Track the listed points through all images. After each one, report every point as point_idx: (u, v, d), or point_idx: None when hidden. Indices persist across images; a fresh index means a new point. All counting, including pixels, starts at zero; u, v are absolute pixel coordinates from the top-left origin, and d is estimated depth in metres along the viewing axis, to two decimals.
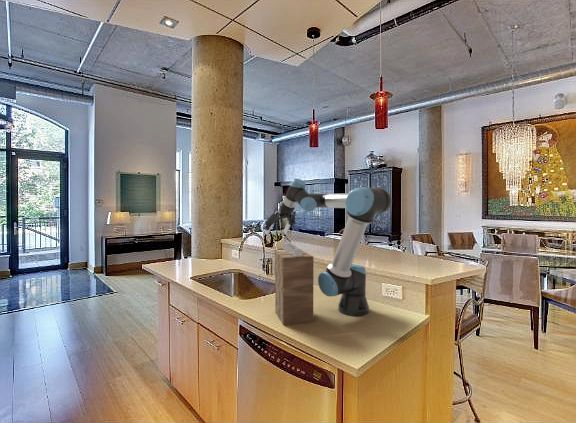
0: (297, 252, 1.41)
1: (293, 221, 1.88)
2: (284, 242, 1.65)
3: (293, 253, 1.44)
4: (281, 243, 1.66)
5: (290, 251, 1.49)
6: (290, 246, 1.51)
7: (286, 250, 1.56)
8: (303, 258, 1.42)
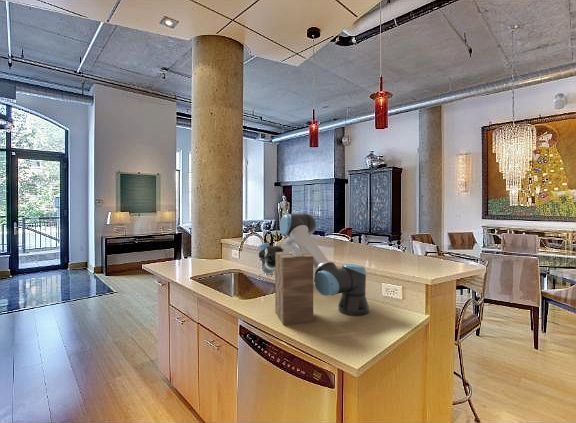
0: (297, 252, 1.41)
1: None
2: (284, 242, 1.65)
3: (293, 253, 1.44)
4: (281, 243, 1.66)
5: (290, 251, 1.49)
6: (290, 246, 1.51)
7: (286, 250, 1.56)
8: (303, 258, 1.42)
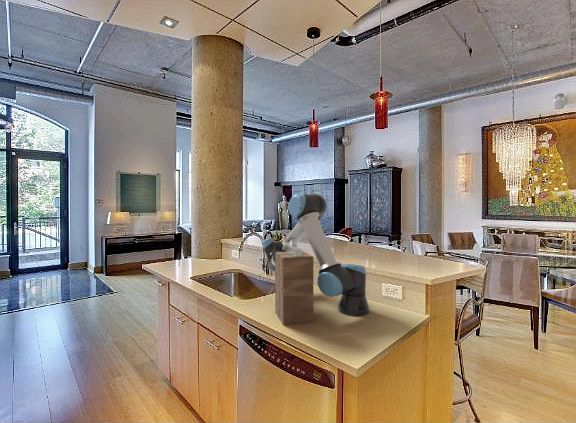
0: (297, 252, 1.41)
1: None
2: None
3: (293, 253, 1.44)
4: (281, 243, 1.66)
5: (290, 251, 1.49)
6: (290, 246, 1.51)
7: (286, 250, 1.56)
8: (303, 258, 1.42)
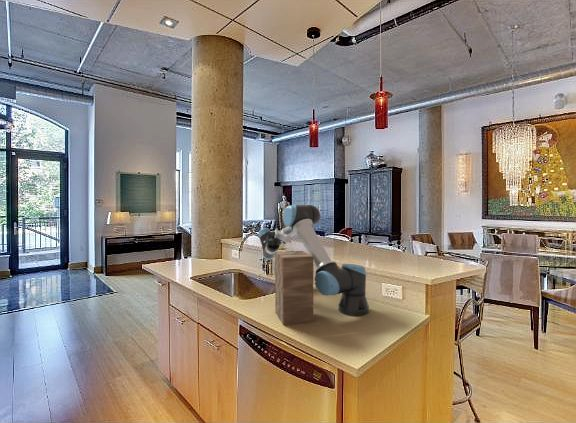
0: (287, 238, 1.58)
1: None
2: None
3: (283, 239, 1.60)
4: None
5: (281, 238, 1.65)
6: (281, 233, 1.68)
7: (278, 237, 1.72)
8: (303, 258, 1.42)
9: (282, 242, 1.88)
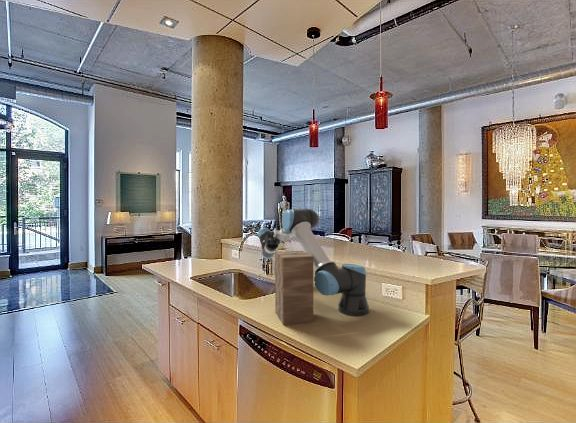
0: (285, 237, 1.61)
1: None
2: None
3: (282, 239, 1.64)
4: None
5: (280, 237, 1.69)
6: (280, 233, 1.71)
7: (276, 237, 1.76)
8: (303, 258, 1.42)
9: (281, 241, 1.92)
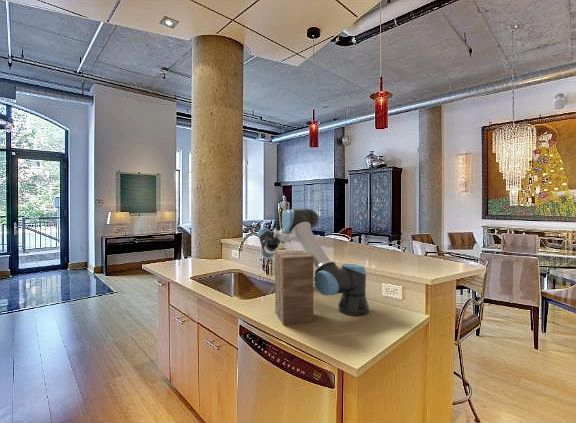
0: (285, 237, 1.61)
1: None
2: None
3: (282, 239, 1.64)
4: None
5: (280, 237, 1.69)
6: (280, 233, 1.71)
7: (276, 237, 1.76)
8: (303, 258, 1.42)
9: (281, 241, 1.92)
